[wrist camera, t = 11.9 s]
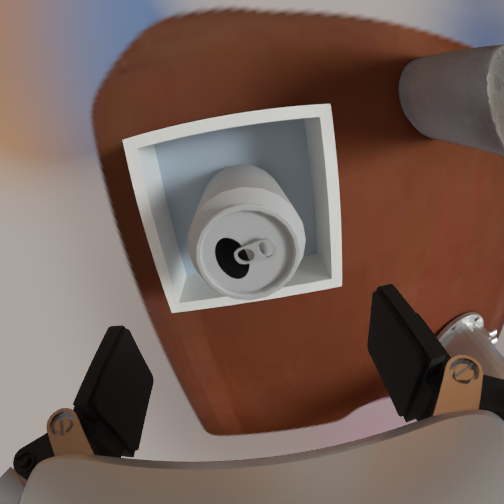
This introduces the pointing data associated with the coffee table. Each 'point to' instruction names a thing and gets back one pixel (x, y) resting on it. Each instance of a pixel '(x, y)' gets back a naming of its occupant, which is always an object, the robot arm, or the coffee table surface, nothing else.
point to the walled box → (229, 154)
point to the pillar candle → (457, 97)
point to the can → (245, 234)
